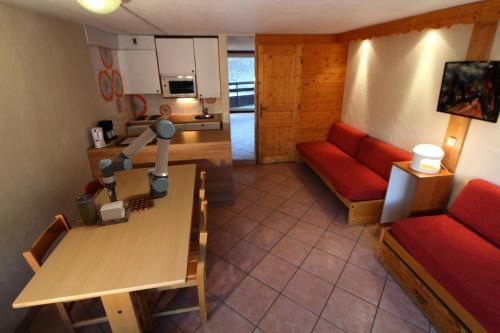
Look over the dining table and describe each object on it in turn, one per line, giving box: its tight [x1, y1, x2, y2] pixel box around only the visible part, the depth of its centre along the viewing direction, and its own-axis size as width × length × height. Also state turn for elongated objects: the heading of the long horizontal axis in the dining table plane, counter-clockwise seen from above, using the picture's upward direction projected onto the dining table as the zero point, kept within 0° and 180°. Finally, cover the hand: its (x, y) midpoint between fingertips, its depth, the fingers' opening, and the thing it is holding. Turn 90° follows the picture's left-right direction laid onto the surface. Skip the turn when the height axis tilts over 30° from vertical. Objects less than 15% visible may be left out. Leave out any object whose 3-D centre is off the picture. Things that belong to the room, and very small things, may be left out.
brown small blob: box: [95, 200, 104, 213], centre depth 186 cm, size 6×6×6 cm
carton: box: [99, 200, 126, 221], centre depth 173 cm, size 12×10×11 cm
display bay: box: [96, 207, 131, 227], centre depth 176 cm, size 18×14×3 cm
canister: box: [75, 193, 100, 226], centre depth 170 cm, size 11×10×20 cm
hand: (116, 209), depth 183 cm, fingers closed
